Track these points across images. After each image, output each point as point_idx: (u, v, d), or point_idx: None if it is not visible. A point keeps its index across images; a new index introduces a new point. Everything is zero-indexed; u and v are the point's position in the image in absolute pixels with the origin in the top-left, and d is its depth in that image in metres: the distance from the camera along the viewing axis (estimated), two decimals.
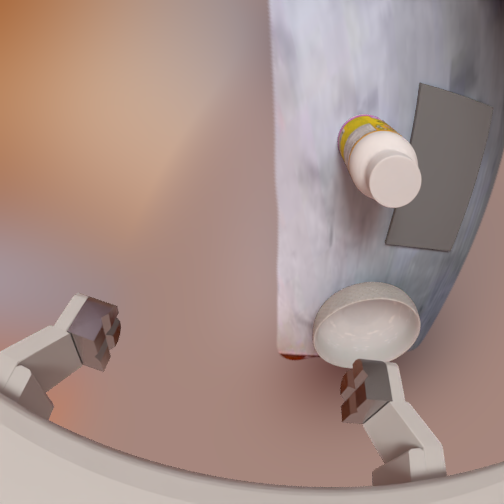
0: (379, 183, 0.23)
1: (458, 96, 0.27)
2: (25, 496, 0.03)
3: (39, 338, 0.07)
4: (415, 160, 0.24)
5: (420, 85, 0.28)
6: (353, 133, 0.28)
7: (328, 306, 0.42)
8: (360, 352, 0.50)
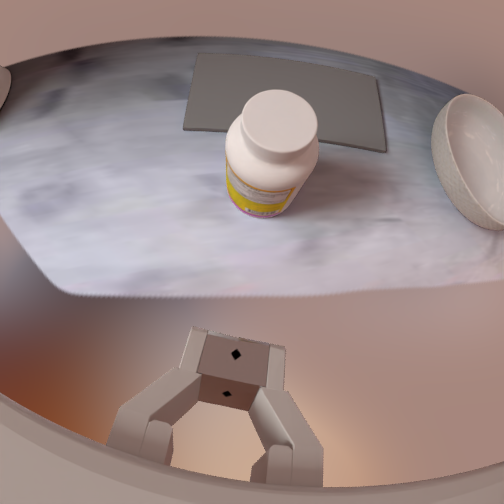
0: (284, 139, 0.17)
1: (192, 88, 0.31)
2: (25, 496, 0.03)
3: (167, 384, 0.07)
4: None
5: (186, 128, 0.30)
6: (241, 193, 0.24)
7: (472, 212, 0.26)
8: None
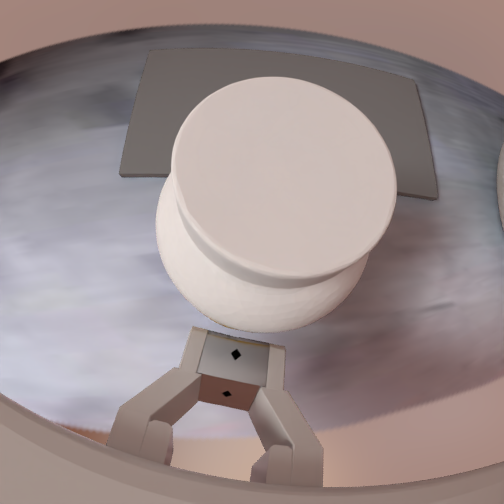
0: (308, 228, 0.06)
1: (136, 106, 0.19)
2: (25, 496, 0.03)
3: (167, 384, 0.07)
4: None
5: (124, 175, 0.19)
6: None
7: None
8: None
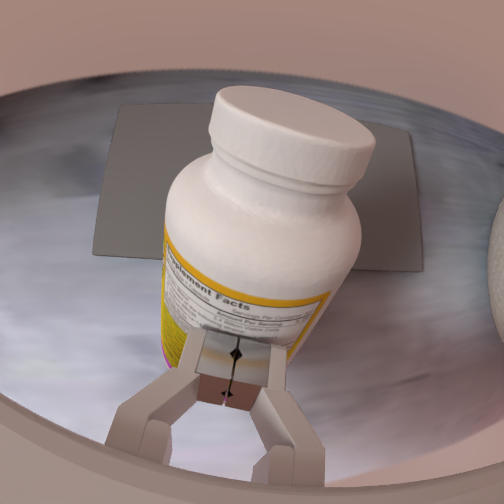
0: (322, 128, 0.07)
1: (106, 176, 0.19)
2: (25, 496, 0.03)
3: (166, 384, 0.07)
4: None
5: (97, 254, 0.18)
6: None
7: None
8: None
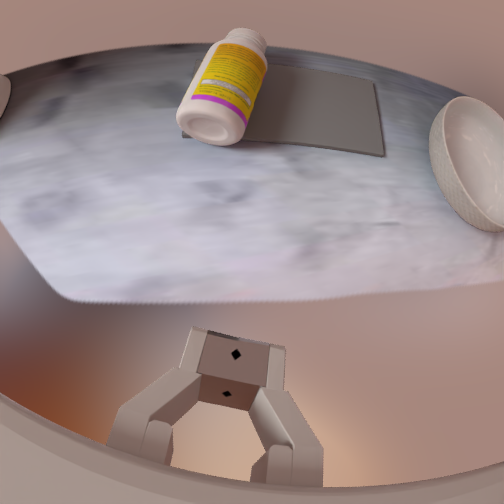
0: None
1: None
2: (25, 496, 0.03)
3: (167, 384, 0.07)
4: None
5: (185, 136, 0.31)
6: None
7: (470, 214, 0.27)
8: None
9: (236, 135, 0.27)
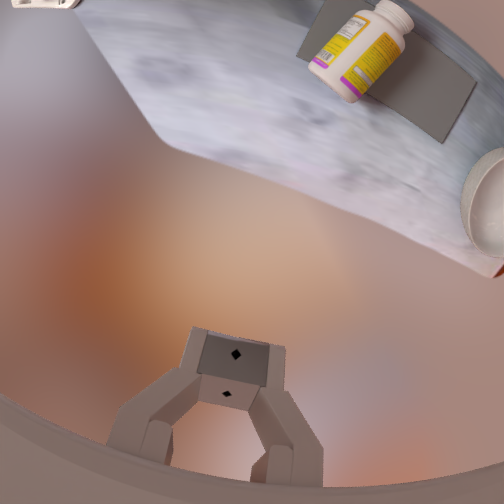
0: None
1: (316, 21, 0.28)
2: (25, 496, 0.03)
3: (167, 384, 0.07)
4: None
5: None
6: (337, 32, 0.27)
7: (464, 226, 0.36)
8: None
9: None
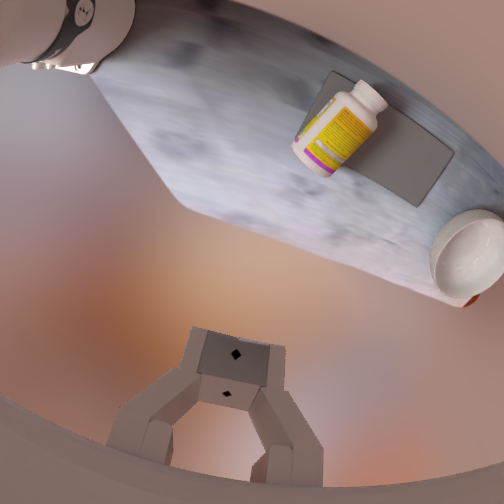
0: None
1: (313, 107, 0.38)
2: (25, 496, 0.03)
3: (167, 384, 0.07)
4: None
5: None
6: None
7: (432, 275, 0.46)
8: (495, 261, 0.44)
9: None
